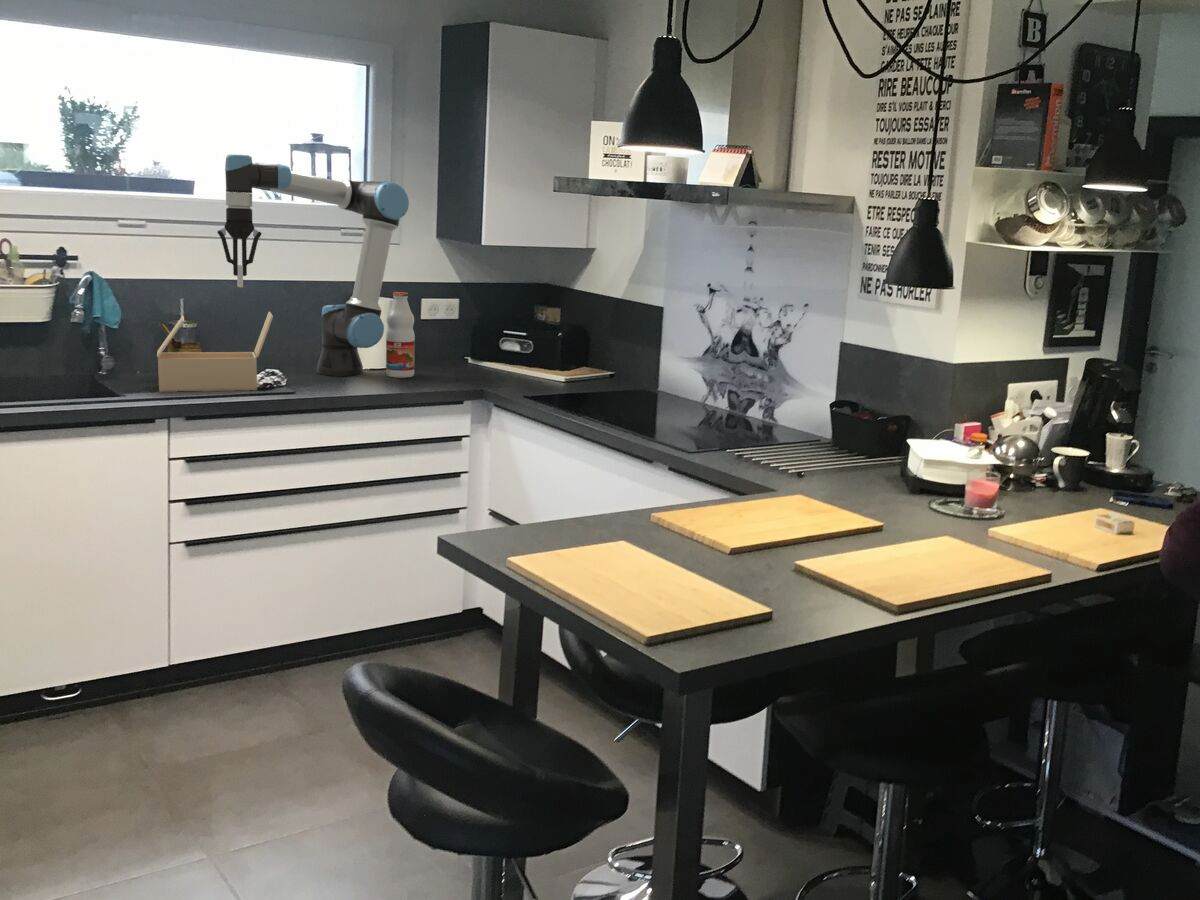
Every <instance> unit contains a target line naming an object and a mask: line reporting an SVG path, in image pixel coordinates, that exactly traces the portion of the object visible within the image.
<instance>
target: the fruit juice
mask: <svg viewBox="0 0 1200 900" xmlns="http://www.w3.org/2000/svg"><path fill="white" fill-rule="evenodd" d="M392 296H393V301H392V304H391V307H390V310H389V311H388V314H387V316H386V323H387V331H386V335H385V339H386V341H385V345H386V346H385V347H386V349H385V351H386V353H385V355H386V356H385V357H386V358H385V371H386V376H387V377H391V378H400V379H401V378H403V379H404V378H412V377H414V376H415V357H416V356H415V354H416V353H415V351H416V350H415V339H416V338H415V337H416V335H415V331H414V325H415V316H414V314H413V312H412V310H411V307H410V305H409V304H410V303H409V302H408V298H409V293H408V292H404V291H394V292H392Z"/></svg>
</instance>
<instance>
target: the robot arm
mask: <svg viewBox="0 0 1200 900" xmlns="http://www.w3.org/2000/svg"><path fill="white" fill-rule="evenodd" d="M224 165H225V166H224V167H225V168H224V171H225V173H224V174H225V205H226V206H227V207H226V209H225V224H224V227H223V228H221V229H218V230H217V234H218V236H219V237H220V239H221V244H222V246H223V251H224V254H225V258H226V262H227V263H229V264H232V265H233V266H232V269H233V272H232V273H233V276H236V277H237V279H236V282H237V283H236V285H237V287H238V288H244V277H247V275H248V274H247V273H248V271H247V270H248V269H247V268H248V267H247V266H248V265H250V264H253V263H254V259H255V258H254V257H255V254H256V250H257V246H258V241H259V239H260V237H261V236H262V232H261V231H259V230H257V229H256V228H255V225H254V223H253V209H252V207H253V189H258V190H261V191H262V190H263V191H266V192H267V191H269V192H273V193H278V194H282V195H287V196H291V197H292V196H293V197H297V198H302V199H308V200H313V201H317V202H322V203H327V204H332V205H336V206H338V207H339V209H340V210H345V211H349V212H353V213H355V214H358V215H359V214H360V215H362V221H363V223H364V224H365V229H364V234H363V239H362V245H361V250H360V255H359V260H358V266H357V269H356V275H355V280H354V287H353V291H352V295H351V298H350V299H349V300H347V301H346V302H345V304H327V305H324V306H323V307H322V308H321V317H320V318H321V345H322V346H321V353H320V356H319V360H318V362H317V366H316V373H318V374H319V375H324V376H335V377H337V376H340V377H344V376H345V377H347V376H358V375H362V374H363V373H364V367H363V363H362V360H361V357H360V353H359V351H358V348H360V349H369V348H371V347H374V346H375V345H377V344H378V343H379V342H380V341H381V340H382V338H383V336H384V332H385V325H384V322H383V320H382V319H381V315H382V310H383V309H382V308H381V306H380V304H379V300H380V295H381V291H382V287H383V280H384V275H385V270H386V265H387V260H388V255H389V250H390V245H391V239H392V234H393V232H394V231H395V230H397V229H398V228H399V225H400V219H402V218H403V217H404V216H405V215H406V214H407V212H408V210H409V204H410V202H409V200H410V199H409V197H408V194H407V192H406V190H405V189H404V188H403V187H402V186H401V185H399V184H398V183H396V182H391V181H387V180H385V181H374V180H373V181H371V180H369V181H368V180H367V181H358V180H354V181H353V180H349V179H343V180H342V181H338V180H334V179H329V178H325V177H321V176H316V175H311V174H306V173H301V172H297V171H292V170H291V168H290V167H289V166H288V165H287V164H283V163H271V162H255V161H253V157H252V156H251V155H250V154H237V153H236V154H235V153H230V154H227V155H226V156H225V164H224ZM227 234H228V235H229V236H230V237H231V238H232V258H231V254H230V250H229V245H228V243H227V242H228V241H227V239H226V236H227ZM251 234H252V236H253V239H252V243H251V248H250V251H249V254H248V255H249V257H248V259H247V251H248V250H247V239H248V238H249V237H250V236H251ZM239 239H241V264H239V259H238V254H239V253H238V251H239V249H238V247H239V246H238V245H239V244H238V242H239V241H238V240H239Z"/></svg>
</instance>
